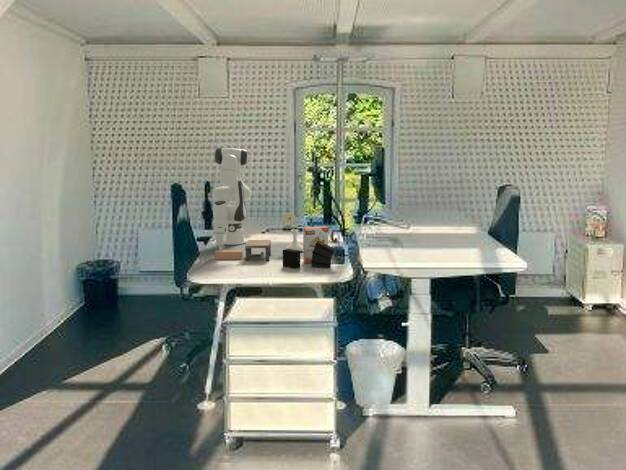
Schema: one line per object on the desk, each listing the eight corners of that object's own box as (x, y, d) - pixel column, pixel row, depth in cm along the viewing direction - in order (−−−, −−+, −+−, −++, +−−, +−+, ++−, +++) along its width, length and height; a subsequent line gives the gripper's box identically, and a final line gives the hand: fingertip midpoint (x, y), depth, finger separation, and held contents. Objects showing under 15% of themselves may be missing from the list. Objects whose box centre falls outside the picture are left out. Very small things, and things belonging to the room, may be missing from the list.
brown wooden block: (216, 257, 420) (216, 250, 419) (242, 257, 420) (242, 250, 419) (215, 259, 415) (215, 252, 414) (241, 259, 415) (241, 251, 414)
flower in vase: (305, 249, 441) (304, 211, 436) (303, 253, 430) (302, 214, 425) (284, 249, 442) (284, 211, 438) (282, 253, 431) (281, 213, 427)
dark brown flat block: (307, 262, 395) (318, 240, 391) (327, 273, 393) (338, 250, 389) (305, 264, 391) (316, 241, 387) (325, 275, 389) (336, 252, 385)
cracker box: (305, 263, 400) (305, 228, 396) (303, 261, 405) (302, 227, 402) (328, 262, 403) (328, 227, 400) (325, 260, 409) (325, 225, 405)
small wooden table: (248, 254, 427) (248, 239, 425) (270, 254, 427) (270, 239, 425) (245, 261, 408) (245, 245, 406) (269, 261, 408) (268, 245, 406)
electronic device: (295, 269, 387) (295, 251, 385) (282, 266, 393) (282, 249, 392) (300, 267, 390) (300, 250, 388) (287, 265, 396) (287, 248, 395)
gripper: (218, 225, 424) (218, 247, 426) (213, 230, 404) (214, 253, 406) (228, 225, 424) (229, 247, 426) (224, 230, 404) (225, 253, 406)
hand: (221, 250), depth 416 cm, fingers open, 8 cm apart
